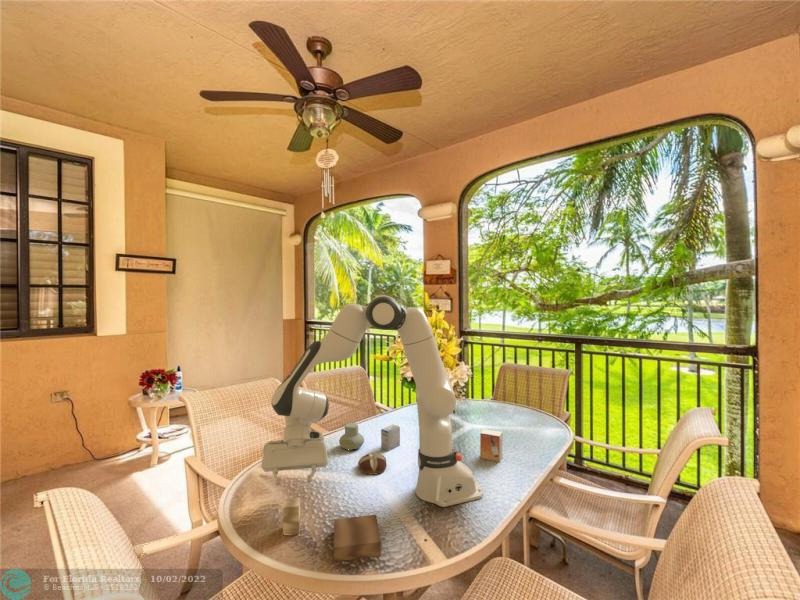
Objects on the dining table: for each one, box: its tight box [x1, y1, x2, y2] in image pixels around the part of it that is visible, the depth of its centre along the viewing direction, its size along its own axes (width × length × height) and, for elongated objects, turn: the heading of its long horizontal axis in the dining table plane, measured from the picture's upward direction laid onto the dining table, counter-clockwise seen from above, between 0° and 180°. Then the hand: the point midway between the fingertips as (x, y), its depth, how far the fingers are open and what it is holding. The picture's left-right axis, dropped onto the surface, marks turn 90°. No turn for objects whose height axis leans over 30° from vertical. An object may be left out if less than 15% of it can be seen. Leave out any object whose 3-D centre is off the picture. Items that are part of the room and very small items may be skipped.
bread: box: [357, 452, 387, 475], centre depth 144 cm, size 11×11×5 cm
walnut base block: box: [333, 514, 382, 563], centre depth 100 cm, size 12×12×4 cm
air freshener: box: [338, 422, 365, 451], centre depth 163 cm, size 11×8×10 cm
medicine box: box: [380, 424, 401, 451], centre depth 163 cm, size 8×4×9 cm, turn 141°
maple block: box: [282, 497, 302, 535], centre depth 106 cm, size 4×4×8 cm
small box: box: [479, 428, 504, 463], centre depth 151 cm, size 8×6×10 cm
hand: (293, 483), depth 113 cm, fingers open, 8 cm apart
